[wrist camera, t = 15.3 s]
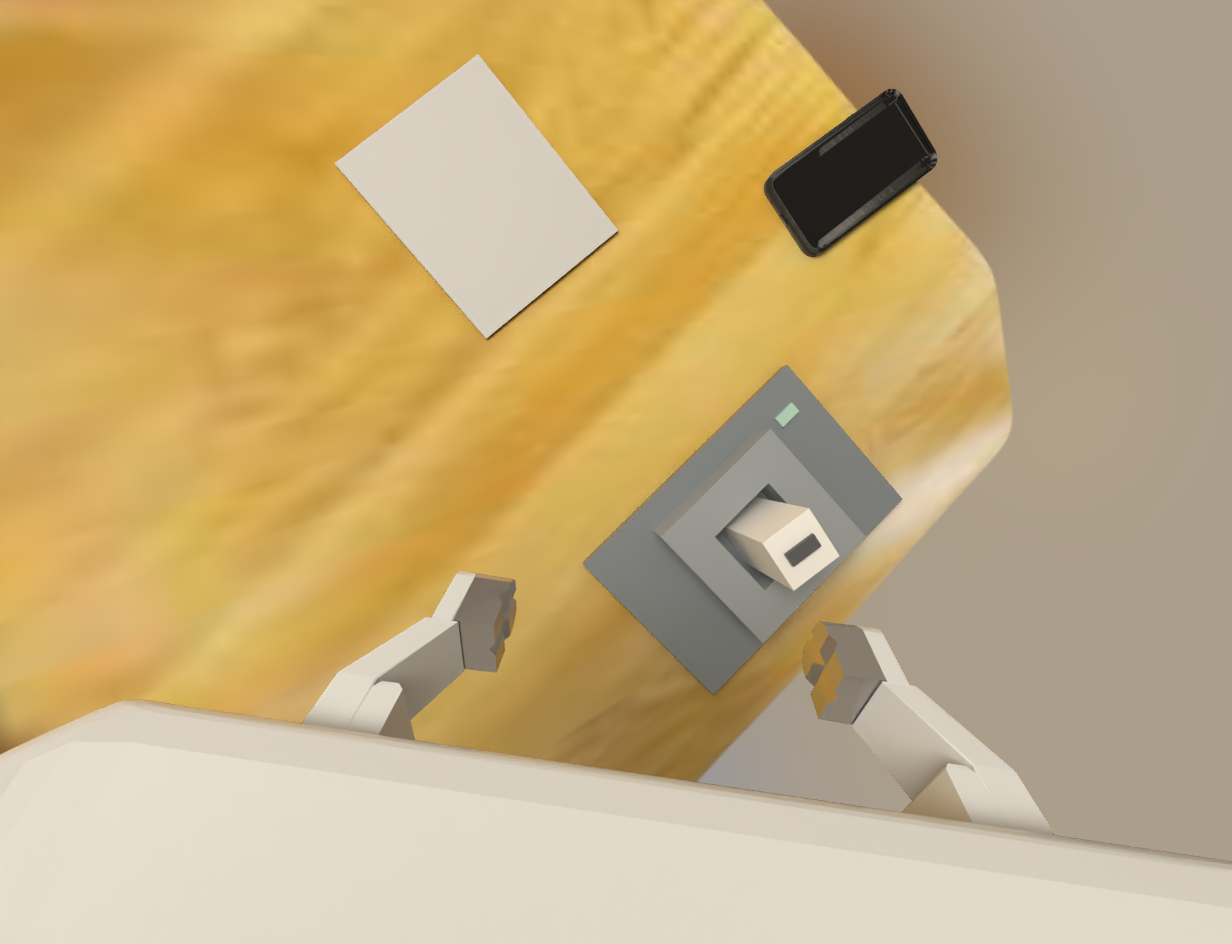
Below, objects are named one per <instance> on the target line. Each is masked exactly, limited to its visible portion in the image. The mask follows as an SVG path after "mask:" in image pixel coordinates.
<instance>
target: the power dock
mask: <svg viewBox="0 0 1232 944" xmlns="http://www.w3.org/2000/svg"><path fill="white" fill-rule="evenodd" d="M756 497H758V498H763V499H767V500H772V501H777V502H782V503H786V504H791V505H796V506H801V507H805V508H809V509H810V510H811V512H812V513H813V515H814V516H815V518H816V520H817V521H818V523H819V524H820V526H821V527H822V529H823V531H824V532H825V534H826V535H827V537H828V538H829V540H830V542H831V543H832V545H833V546H834V548H835V549H836V551H837V553H838V554H839V557H838V558H836V559H835V560H834V561H832V562H831V563H830V564H828V565H827V566H826V567H824V568H823V569H822V570H821V571H819V572H818V573H817V574H815V575H814V576H813V577H811V578H810V579H809V580H807V581H806V582H805V583H803V584H802V585H801V586H799V587H798V588H797V589H795V590H794V591H793V590H791V589H790V588H788V587H786V586H784V585H783V584H781V583H779V582H778V581H776V580H774V579H772V578H771V577H769V576H767V575H765V574H764V573H762V572H760V571H758V570H757V569H755V568H753V567H751V566H750V565H748V564H746V563H744V561H743V560H742V558H741V557H740V555H739V554H738V552H737V551H736V549H735V548H734V546H733V545H732V543H731V542H730V540H729V539H728V537H727V536H726V534H725V533H724V531H723V530H722V529H723V528H724V527H725V526H726V525H727V524H728V523H729V522H730V521H731V520H732V519H733V518H734V517H735V516H736V515H737V514H738V513H739V512H740V511H741V510H742V509H743V508H744V507H745V506H746V505H747V504H748V503H749V502H751V501H752V500H753V499H755V498H756ZM901 500H902V498H901V497H900V496H899V494H898V493H897V492H896V491H895V490H894V489H893V487H892V486H891V485H890V484H889V483H888V482H887V480H886V479H885V478H884V477H883V476H882V475H881V473H880V472H879V471H878V470H877V469H876V468H875V466H874V465H873V464H872V463H871V462H870V461H869V459H868V458H867V457H866V456H865V455H864V454H863V452H862V451H861V450H860V449H859V448H858V447H857V445H856V444H855V443H854V442H853V441H852V440H851V438H850V437H849V436H848V435H847V434H846V433H845V431H844V430H843V429H842V428H841V427H840V426H839V424H838V423H837V422H836V421H835V420H834V419H833V417H832V416H831V415H830V414H829V413H828V412H827V411H826V409H825V408H824V407H823V406H822V405H821V404H820V402H819V401H818V400H817V399H816V398H815V397H814V395H813V394H812V393H811V392H810V391H809V390H808V388H807V387H806V386H805V385H804V384H803V383H802V381H801V380H800V379H799V378H798V377H797V376H796V374H795V373H794V372H793V371H792V370H791V369H790V367H789V366H788V365H786V366H784V367H781V368H780V369H779V370H778V371H777V372H776V373H775V374H774V375H773V376H772V377H771V378H770V379H769V380H768V381H767V382H766V383H765V384H764V385H763V386H762V387H761V388H760V389H759V390H758V391H757V392H756V393H755V394H754V395H753V396H752V397H751V398H750V399H749V400H748V401H747V402H746V403H745V404H744V405H743V406H742V407H741V408H740V409H739V410H738V411H737V412H735V413H734V414H733V415H732V416H731V417H730V418H729V419H728V420H727V421H726V422H725V423H724V424H723V425H722V426H721V427H720V428H719V429H718V430H717V431H716V432H715V433H714V434H713V435H712V436H711V437H710V438H709V439H708V440H707V441H706V442H705V443H704V444H703V445H702V446H701V447H700V448H699V449H698V450H697V451H696V452H695V453H694V454H693V455H692V456H691V457H690V458H689V459H688V460H687V461H686V462H685V463H684V464H683V465H681V466H680V467H679V468H678V469H677V470H676V471H675V472H674V473H673V474H672V475H671V476H670V477H669V478H668V479H667V480H666V481H665V482H664V483H663V484H662V485H661V486H660V487H659V488H658V489H657V490H656V491H655V492H654V493H653V494H652V495H651V496H650V497H649V498H648V499H647V500H646V501H645V502H644V503H643V504H642V505H641V506H640V507H639V508H638V509H637V510H636V511H635V512H634V513H633V514H632V515H631V516H630V517H629V518H628V519H626V520H625V521H624V522H623V523H622V524H621V525H620V526H619V527H618V528H617V529H616V530H615V531H614V532H613V533H612V534H611V535H610V536H609V537H608V538H607V539H606V540H605V541H604V542H603V543H602V544H601V545H600V546H599V547H598V548H597V549H596V550H595V551H594V552H593V553H592V554H591V555H590V556H589V557H588V558H587V559H586V560H585V561H584V562H583V565H584V566H585V567H586V568H587V569H588V570H589V571H590V572H591V573H592V574H593V575H594V576H595V577H596V578H597V579H598V580H599V581H600V582H601V583H602V584H603V585H604V586H605V587H606V588H607V589H608V590H609V591H610V592H611V593H612V594H613V595H614V596H615V597H616V598H617V599H618V600H619V601H620V602H621V603H622V604H623V605H624V606H625V607H626V608H627V609H628V610H629V611H630V612H631V613H632V614H633V615H634V616H635V617H636V618H637V619H638V620H639V621H640V622H641V623H642V624H643V625H644V626H645V627H646V628H647V629H648V630H649V631H650V632H651V633H652V634H653V635H654V636H655V637H656V638H657V639H658V640H659V641H660V642H661V643H662V644H663V645H664V646H665V647H666V648H667V649H668V650H669V651H670V652H671V653H672V654H673V655H674V656H675V657H676V658H677V659H678V660H679V661H680V662H681V663H682V664H683V665H684V666H685V667H686V668H687V669H688V670H689V671H690V672H691V673H692V674H693V675H694V676H695V677H696V678H697V679H698V680H699V681H700V682H701V683H702V684H703V685H704V686H705V687H706V688H707V689H708V690H709V691H710V692H711V693H712V694H713V695H714V694H715V693H716V692H717V691H718V690H719V689H720V688H721V687H722V686H723V685H724V684H725V683H726V682H727V681H728V680H729V679H730V678H731V677H732V676H733V674H734V673H735V672H736V671H737V670H738V669H739V668H740V667H741V666H742V665H743V664H744V663H745V662H746V661H747V660H748V659H749V658H750V657H751V656H752V655H753V654H754V653H755V652H756V651H757V650H758V649H759V647H760V646H761V645H762V644H763V643H764V642H765V641H766V640H767V639H768V638H769V637H770V636H771V635H772V634H773V633H774V632H775V631H776V630H777V629H778V628H779V627H780V626H781V625H782V624H783V623H784V622H785V620H786V619H787V618H788V617H789V616H790V615H791V614H792V613H793V612H794V611H795V610H796V609H797V608H798V607H799V606H800V605H801V604H802V603H803V602H804V601H805V600H806V599H807V598H808V597H809V596H810V595H811V593H812V592H813V591H814V590H815V589H816V588H817V587H818V586H819V585H820V584H821V583H822V582H823V581H824V580H825V579H826V578H827V577H828V576H829V575H830V574H831V573H832V572H833V571H834V570H835V569H836V568H837V566H838V565H839V564H840V563H841V562H842V561H843V560H844V559H845V558H846V557H847V556H848V555H849V554H850V553H851V552H852V551H853V550H854V549H855V548H856V547H857V546H858V545H859V544H860V543H861V542H862V541H863V540H864V538H865V537H866V536H867V535H868V534H869V533H870V532H871V531H872V530H873V529H874V528H875V527H876V526H877V525H878V524H879V523H880V522H881V521H882V520H883V519H884V518H885V517H886V516H887V515H888V514H889V513H890V511H891V510H892V509H893V508H894V507H895V506H896V505H897V504H898V503H899V502H900V501H901Z"/></svg>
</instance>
